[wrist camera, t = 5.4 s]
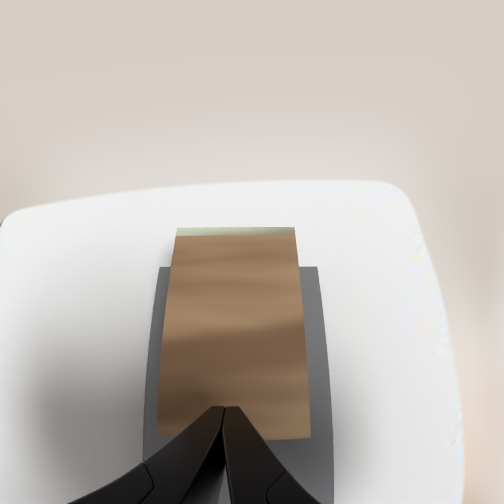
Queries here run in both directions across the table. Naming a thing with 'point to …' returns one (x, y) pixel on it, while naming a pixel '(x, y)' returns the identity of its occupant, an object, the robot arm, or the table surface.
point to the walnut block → (235, 331)
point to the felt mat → (321, 441)
